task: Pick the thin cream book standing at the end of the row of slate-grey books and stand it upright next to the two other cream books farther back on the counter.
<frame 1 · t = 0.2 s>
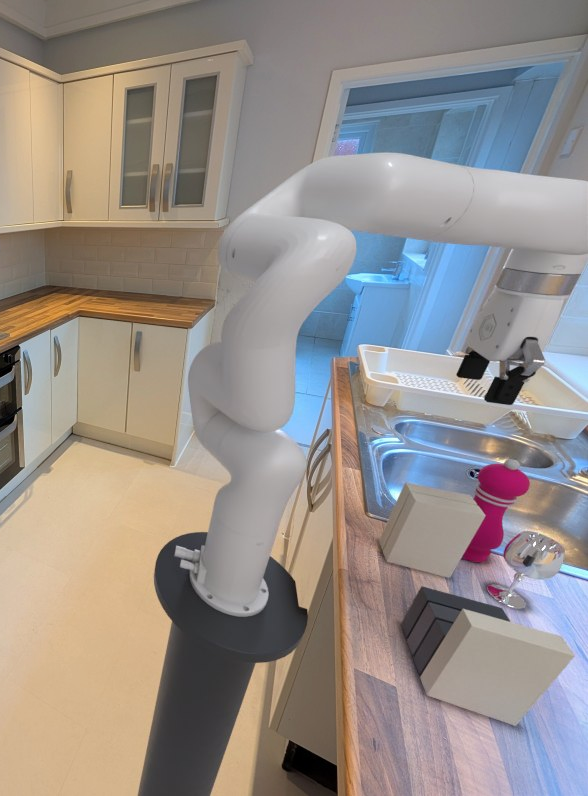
hand: (481, 389, 68), 32 cm above the countertop, tool pointing down, fingers open, 9 cm apart
white books: (412, 558, 77), on the countertop
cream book: (465, 700, 56), on the countertop
wineglass: (505, 597, 70), on the countertop
grey books: (448, 660, 60), on the countertop
pepper mill: (463, 549, 79), on the countertop
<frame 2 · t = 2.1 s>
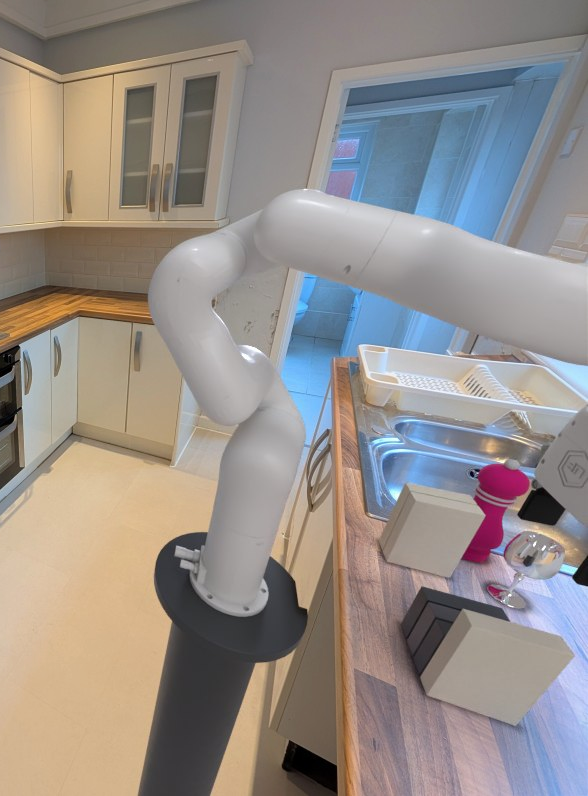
hand: (561, 550, 46), 25 cm above the countertop, tool pointing down, fingers open, 9 cm apart
nothing on the countertop moved.
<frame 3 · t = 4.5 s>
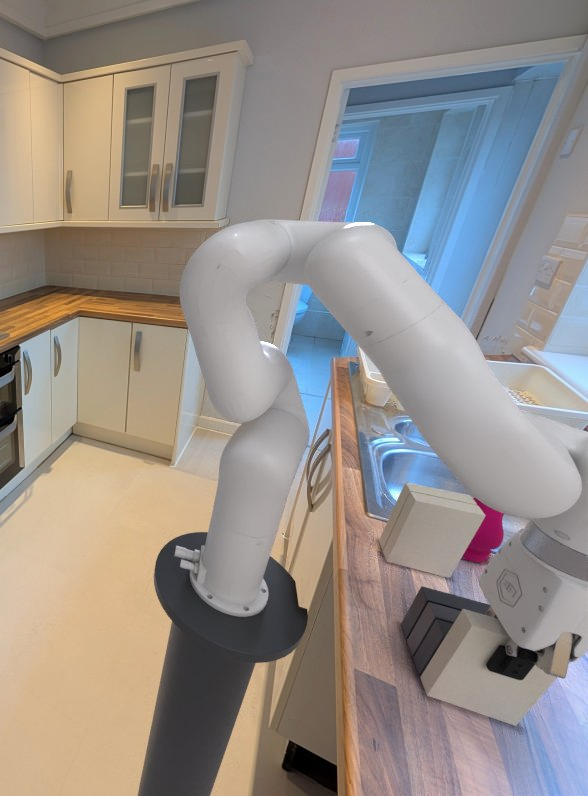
hand: (496, 659, 52), 9 cm above the countertop, tool pointing down, fingers closed on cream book, 2 cm apart
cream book: (465, 700, 56), on the countertop, touching gripper
everything else where it was.
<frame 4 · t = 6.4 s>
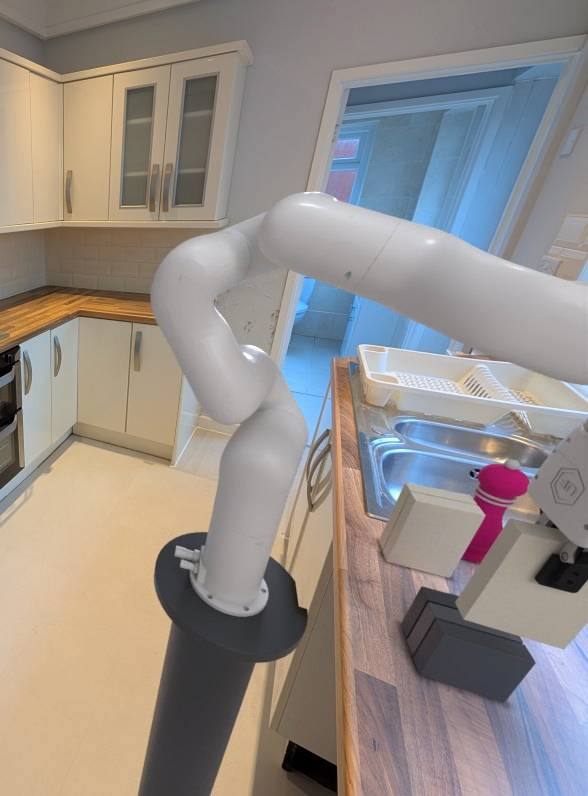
hand: (545, 573, 47), 23 cm above the countertop, tool pointing down, fingers closed on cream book, 2 cm apart
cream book: (506, 625, 51), point 14 cm above the countertop, touching gripper
everything else where it was.
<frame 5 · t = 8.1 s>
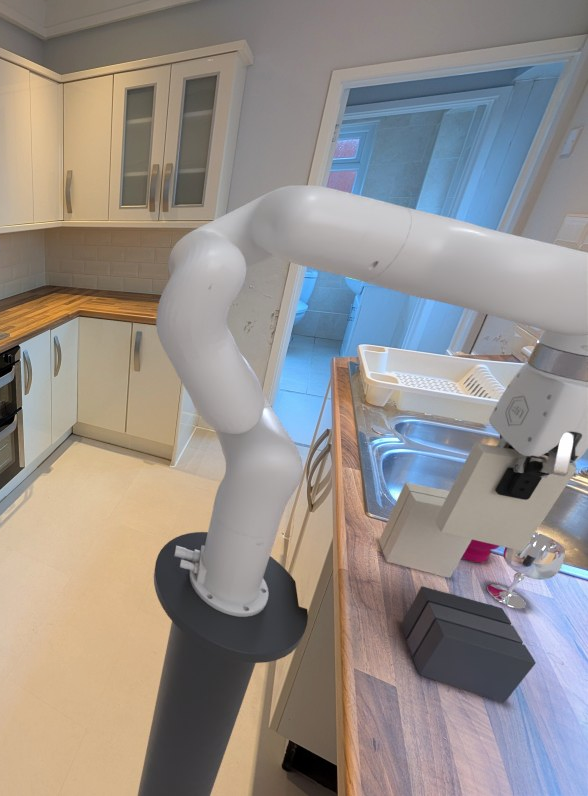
hand: (505, 487, 57), 24 cm above the countertop, tool pointing down, fingers closed on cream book, 2 cm apart
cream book: (476, 535, 61), point 16 cm above the countertop, touching gripper
everything else where it was.
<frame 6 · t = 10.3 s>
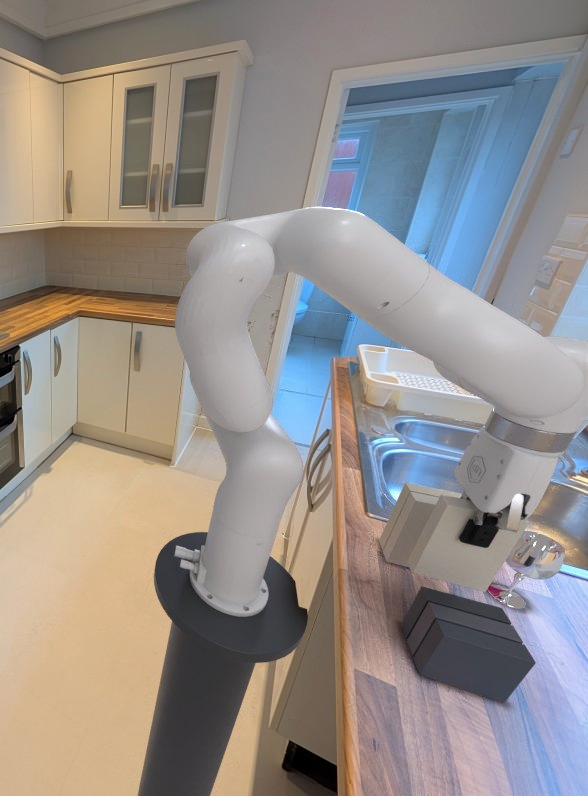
hand: (468, 535, 63), 14 cm above the countertop, tool pointing down, fingers closed on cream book, 2 cm apart
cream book: (444, 576, 67), point 5 cm above the countertop, touching gripper
everything else where it was.
when the fingers open (9 cm above the countertop, at t = 11.8 s): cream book stays where it is, on the countertop.
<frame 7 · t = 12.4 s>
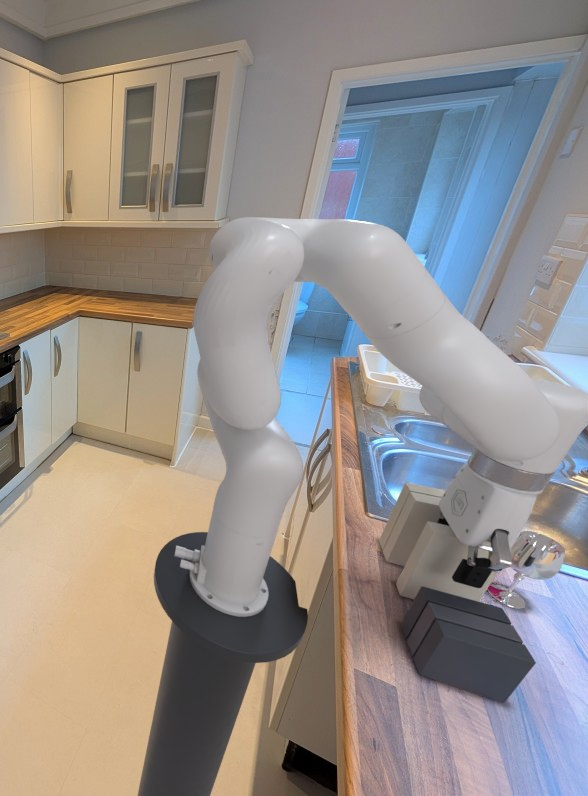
hand: (453, 560, 65), 9 cm above the countertop, tool pointing down, fingers open, 8 cm apart
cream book: (431, 599, 69), on the countertop
everything else where it was.
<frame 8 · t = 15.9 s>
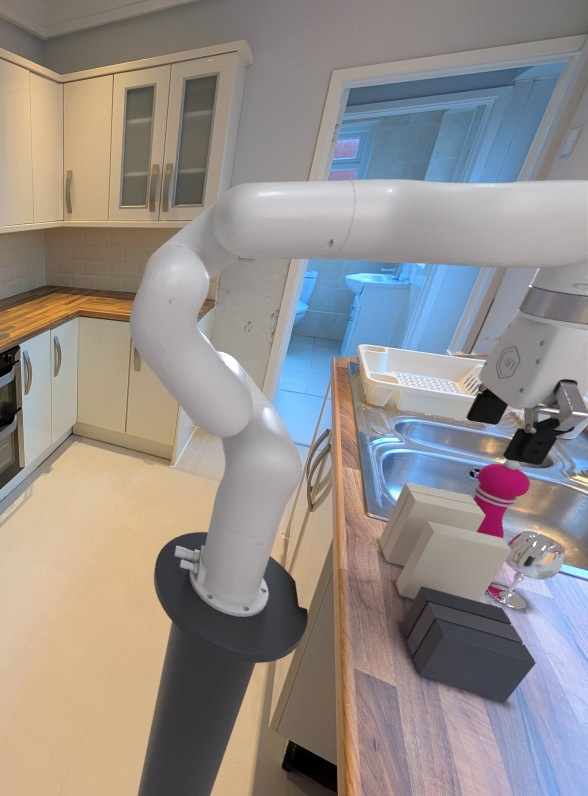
hand: (499, 439, 53), 32 cm above the countertop, tool pointing down, fingers open, 9 cm apart
nothing on the countertop moved.
at the end: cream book 0.1 cm from the target spot on the countertop beside the white books, on the countertop; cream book tilted 0°; the gripper is holding nothing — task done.
